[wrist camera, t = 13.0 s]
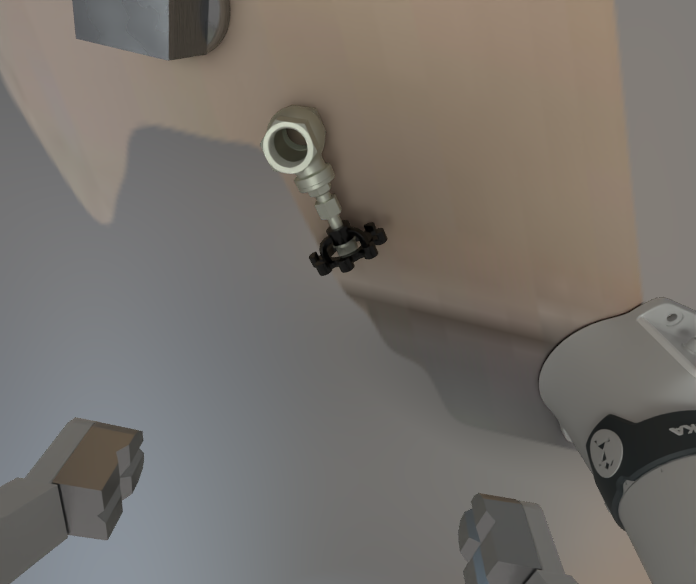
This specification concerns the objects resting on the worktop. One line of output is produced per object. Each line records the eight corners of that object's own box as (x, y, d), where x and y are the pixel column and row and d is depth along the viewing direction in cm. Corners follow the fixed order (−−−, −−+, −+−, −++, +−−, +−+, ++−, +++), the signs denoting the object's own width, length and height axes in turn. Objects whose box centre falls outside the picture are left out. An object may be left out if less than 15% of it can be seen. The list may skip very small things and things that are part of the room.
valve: (253, 119, 35) (318, 249, 40) (228, 138, 29) (308, 286, 34) (329, 83, 33) (386, 223, 38) (320, 95, 27) (388, 257, 33)
